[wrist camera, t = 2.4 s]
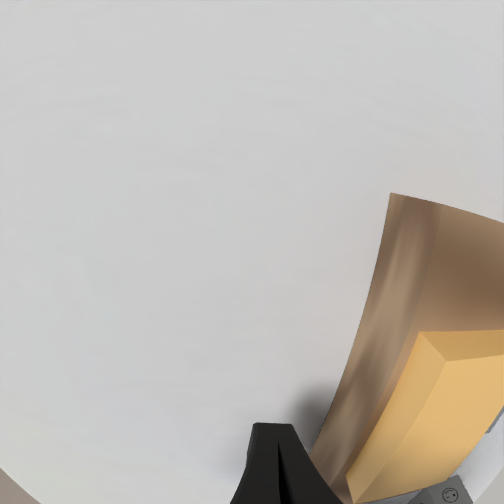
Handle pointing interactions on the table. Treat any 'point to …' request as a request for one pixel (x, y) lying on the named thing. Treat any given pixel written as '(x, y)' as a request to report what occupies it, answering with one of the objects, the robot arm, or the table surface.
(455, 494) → the dice cube
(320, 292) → the table surface
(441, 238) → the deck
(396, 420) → the yellow orange block
